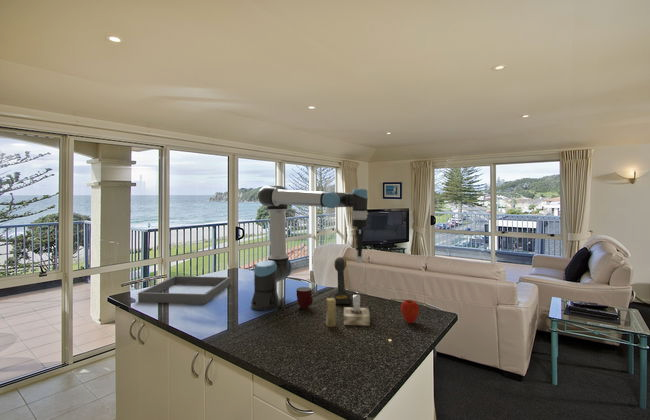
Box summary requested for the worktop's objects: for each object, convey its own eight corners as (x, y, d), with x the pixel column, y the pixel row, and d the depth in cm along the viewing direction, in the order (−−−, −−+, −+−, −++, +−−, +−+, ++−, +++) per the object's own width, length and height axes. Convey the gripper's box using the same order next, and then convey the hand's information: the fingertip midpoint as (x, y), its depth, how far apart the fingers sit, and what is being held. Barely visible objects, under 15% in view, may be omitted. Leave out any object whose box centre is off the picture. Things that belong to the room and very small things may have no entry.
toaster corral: (138, 301, 177) (138, 293, 177) (174, 283, 215) (174, 275, 215) (205, 303, 175) (205, 294, 174) (230, 284, 212) (230, 277, 212)
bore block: (343, 324, 148) (343, 316, 148) (343, 315, 160) (343, 307, 160) (369, 325, 147) (369, 316, 147) (367, 315, 159) (368, 307, 159)
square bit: (327, 327, 145) (327, 300, 145) (325, 323, 149) (326, 298, 148) (335, 326, 146) (335, 300, 145) (333, 323, 149) (333, 297, 149)
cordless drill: (350, 295, 192) (350, 253, 191) (349, 306, 173) (350, 260, 171) (335, 294, 193) (335, 253, 192) (332, 305, 173) (333, 259, 172)
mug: (318, 308, 169) (318, 289, 168) (307, 312, 163) (307, 293, 162) (303, 304, 176) (304, 286, 175) (293, 307, 170) (293, 289, 169)
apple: (396, 320, 153) (396, 298, 153) (411, 318, 156) (411, 296, 156) (407, 327, 145) (408, 304, 145) (422, 324, 149) (423, 301, 148)
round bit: (352, 321, 152) (353, 296, 151) (352, 318, 155) (352, 294, 155) (359, 321, 152) (360, 296, 151) (359, 318, 155) (359, 294, 155)
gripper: (368, 221, 152) (367, 265, 153) (366, 217, 177) (365, 255, 178) (352, 220, 153) (351, 264, 154) (352, 217, 178) (352, 255, 178)
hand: (359, 260), depth 166 cm, fingers open, 13 cm apart
